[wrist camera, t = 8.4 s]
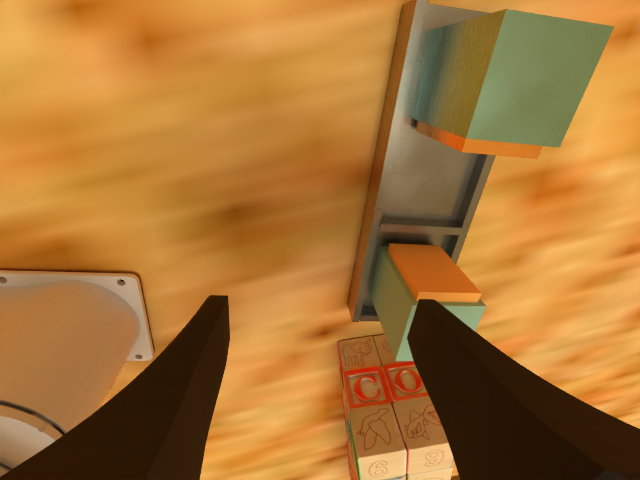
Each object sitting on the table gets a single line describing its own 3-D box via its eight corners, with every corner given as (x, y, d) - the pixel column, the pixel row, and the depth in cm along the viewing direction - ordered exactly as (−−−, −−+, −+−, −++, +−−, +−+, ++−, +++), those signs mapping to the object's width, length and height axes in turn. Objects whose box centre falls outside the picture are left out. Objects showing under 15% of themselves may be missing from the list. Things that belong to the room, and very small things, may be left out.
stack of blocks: (334, 338, 26) (369, 524, 16) (407, 327, 27) (491, 502, 16) (348, 468, 37) (375, 634, 26) (400, 460, 37) (449, 619, 26)
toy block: (369, 293, 23) (395, 361, 17) (381, 238, 21) (415, 295, 15) (421, 294, 23) (461, 360, 18) (438, 240, 21) (490, 296, 16)
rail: (347, 303, 24) (369, 384, 18) (402, 5, 16) (482, -38, 9) (424, 304, 25) (470, 382, 19) (518, 23, 17) (662, -5, 10)
